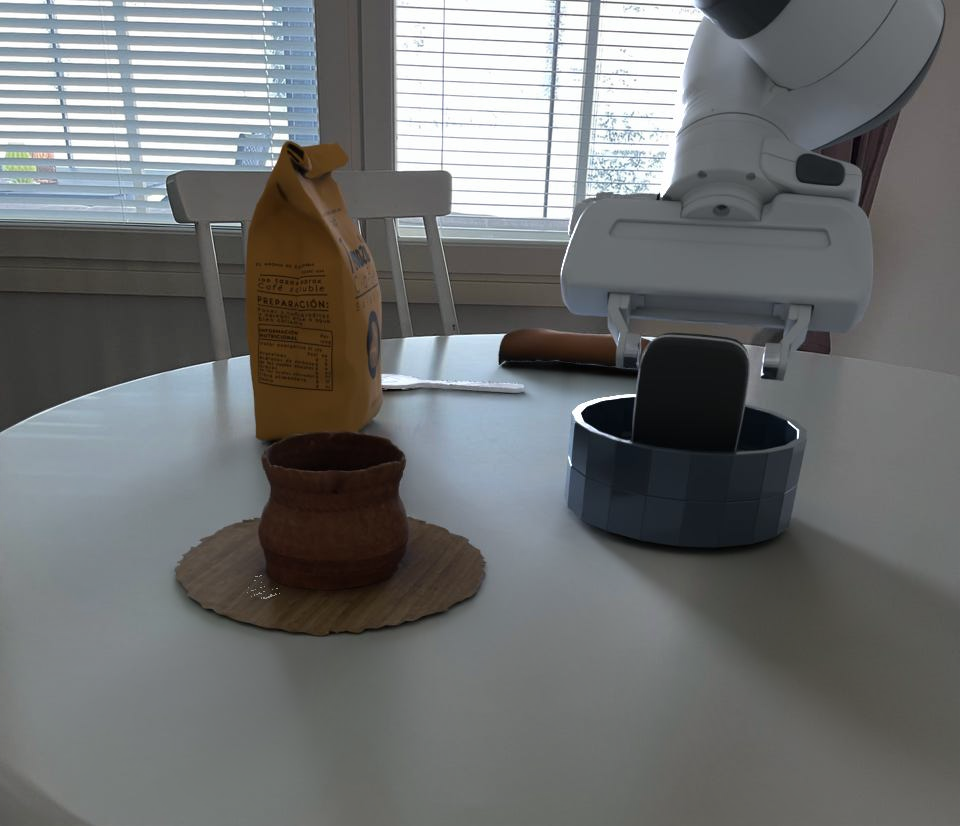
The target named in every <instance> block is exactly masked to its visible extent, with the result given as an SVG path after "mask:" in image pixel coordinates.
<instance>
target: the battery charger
mask: <svg viewBox="0 0 960 826" xmlns="http://www.w3.org/2000/svg"><path fill="white" fill-rule="evenodd" d="M750 370H751V361H750V357H749V353H748V350H747V348H746V347H745V345H744V343H743V342H741V341H739V340H738V339H736V338H732V337H728V336H722V335H721V336H719V335H711V334H702V333H687V332H665V333H662V334H660V335H658V336H656V337H654V338H652V339H651V340H650V343H649V344H648V345H647V346H646V348H645V349H644V351H643V353H642V356H641V360H640V365H639V369H638V371H637V379H636V386H635V394H634V395H635V402H634V412H633V427H632V442H637V443H641V444H646V445H651V446H656V447H664V448H672V449H680V450H689V451H709V452H736V448H737V443H738V439H739V434H740V429H741V425H742V420H743V414H744V409H745V404H747V395H748V389H749V382H750V375H751V374H750V373H751V371H750Z"/></svg>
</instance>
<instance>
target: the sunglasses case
mask: <svg viewBox="0 0 960 826" xmlns="http://www.w3.org/2000/svg"><path fill="white" fill-rule="evenodd" d="M650 341H651V340H650V339H647V338H644V337H641V353H640V358H639V365H640V360H641V356H642V353H643V351H644V349H645V348H646V346H647V345H648V344H649V343H650ZM616 350H617V345H616V343H615V341H614V339H613V337H612V335H611V333H609V334H603V333H600V334H598V333H579V332H568V331H560V330H559V331H557V330H554V329H549V328H542V327H541V328H540V327H536V328H535V327H532V328H531V327H529V328H520V329H515V330H511V331H508V332H507V333H505V334H504V335H503V336H502V338H501V340H500V344H499V349H498V354H497V357H498V358H497V361H498V366H501V365H502V364H503V363H506V362H517V363H518V362H531V363H534V362H538V361H539V362H543V363H545V362H556V361H557V362H560V363H569V364H576V365H596V366H600V367H605V368H606V367H608V368H616ZM639 365H638V369H637V370H639Z"/></svg>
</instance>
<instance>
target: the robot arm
mask: <svg viewBox="0 0 960 826" xmlns="http://www.w3.org/2000/svg"><path fill="white" fill-rule="evenodd" d="M688 1H689V3H690V4H691V5H692V6H693V7H694V8H696V9H697V11H699V12H700V13H701V14H702V15H703V17H702V18H701V20H700V23H699V25H698V27H697V29H696V31H695V33H694V34H693V38H692V40H691V43H690V45H689V48H688V50H687V53H686V57H685V60H684V63H683V67H682V71H681V73H680V78H679V83H678V87H677V93H676V98H675V104H674V111H673V127H674V131H675V134H674V135H673V137H672V139H671V141H670V143H669V146H668V149H667V153H666V157H665V164H664V169H663V175H662V181H661V186H660V192H658V193H655V192H654V193H653V192H652V193H651V192H630V193H619V192H618V193H615V191H607V190H606V191H598V192H596V193H595V196H592V197H588V198H585V199H583V200H582V201H579V202H577V203H576V204H575V205H574V207H573V209H572V212H571V213H570V219H569V224H568V236H569V242H568V245H567V248H566V251H565V255H564V258H563V261H562V265H561V269H560V270H561V271H560V291H561V298H562V301H563V304H564V305H565V306H566V308H567V310H568V311H569V312H570V313H571V314H573V315H579V316H591V317H592V316H593V317H607V329H608V330H609V334H611V335H612V337H613V339H614V341H615V343H616V345H617V350H616V367H615V368H618V369H629V370H630V369H632V370H639V369H638V365H639V358H640V353H641V338H642V333H639V332H630V330H629V323H630V319H633V320H634V319H635V320H637V319H638V320H649V321H650V320H651V321H665V322H668V321H669V322H679V323H694V324H707V325H708V324H710V325H724V326H735V327H736V326H737V327H738V326H739V327H753V328H766V329H768V328H769V329H781V330H783V337H782V339H781V340H780V341H779V342H766V343H765V347H764V352H763V356H762V361H761V371H760V380H767V381H768V380H769V381H779V382H783V381H784V379H785V376H786V372H787V369H788V368H787V367H788V361H789V359H790V358H791V357H792V356H793V355H794V353H795V352H796V351H797V350H798V349H799V348H800V347H801V346H802V345H803V343H804V342H805V341H806V336H807V334H808V331H811V332H826V333H836V334H837V333H838V334H839V333H840V334H846V333H849V332H851V331H852V330H853V329H855V327H857V326H858V324H860V323H861V322H862V321H863V319H864V316H865V314H866V312H867V309H868V306H869V303H870V300H871V296H872V292H873V284H874V246H873V236H872V228H871V224H870V221H869V217H868V216H867V214H866V212H865V211H864V209H862V207H860V206H859V202H860V196H861V190H862V181H863V172H862V170H861V169H860V168H859V167H858V166H857V165H855V164H853V163H850V162H848V161H844V160H840V159H837V158H833V157H830V156H827V155H823V154H820V153H817V151H820V150H823V149H828V148H829V147H832V146H835V145H837V144H841V143H843V142H846V141H848V140H851V139H854V138H857V137H859V136H862V135H864V134H866V133H868V132H870V131H872V130H875V129H876V128H878V127H879V126H880V125H882V124H884V123H886V122H887V121H888V120H890V119H891V118H893V117H895V116H896V115H897V114H898V113H900V111H901V110H902V109H904V107H905V106H906V105H907V104H908V103H910V101H911V100H912V98H913V97H914V95H915V94H916V92H917V91H918V90H919V88H920V87H921V85H922V83H923V82H924V80H925V78H926V76H927V74H928V73H929V72H930V69H931V67H932V66H933V64H934V62H935V59H936V56H937V54H938V51H939V49H940V47H941V43H942V39H943V35H944V31H945V24H946V14H947V13H946V6H945V4H944V2H943V0H688Z"/></svg>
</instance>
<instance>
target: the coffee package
mask: <svg viewBox="0 0 960 826" xmlns="http://www.w3.org/2000/svg"><path fill="white" fill-rule="evenodd" d="M281 146H282V147H281V149H280V152H279V156H278V158H277V160H276V162H275V165H274V167H273V168H272V170H271V173H270V174H269V176H268V179H267V181H266V183H265V187H264V189H263V192H262V194H261V195H260V197H259V199H258V201H257V202H256V204H255V208H254V211H253V214H252V217H251V220H250V224H249V226H248V230H247V240H246V241H247V242H246V253H245V255H246V256H245V330H246V337H247V346H248V356H249V367H250V376H251V384H252V394H253V408H254V412H253V413H254V421H255V422H254V423H255V438H256V439H257V440H259V441H263V442H279V441H281V440H282V439H283V438H284V437H286V436H288V435H291V434H305V433H307V432H310V431H329V432H331V431H351V432H357V433H359V431H361V430H362V429H364V428H365V427H367V426H369V424H370V423H371V422H372V421H373V419H374V418H376V417H377V415H378V414H379V412H380V410H381V408H382V406H383V401H384V395H383V389H382V378H381V374H382V323H383V322H382V320H383V319H382V318H383V317H382V313H383V311H382V310H383V308H382V291H381V287H380V283H379V277H378V273H377V269H376V265H375V261H374V257H373V255H372V254H371V251H370V249H369V247H368V246H367V244H366V241H365V239H364V238H363V236H362V234H361V232H360V231H359V229H358V227H357V225H356V224H355V222H354V221H353V220H352V218H351V217H350V215H349V214H348V209H347V206H346V202H345V199H344V196H343V193H342V190H341V187H340V185H339V183H338V181H337V180H336V179H335V178H334V176H333V171H335V170H337V169H341V168H343V167H345V166H346V165H347V164H348V163H349V160H350V157H349V155H348V154H347V152H346V151H345V150H344V148H343V147H342V145H341V144H340V143H339V142H338V141H335V142H331V143H320V144H312V145H306V146H305V145H304V146H302V145H300V144H298V143H296V142H294V141H292V140H286V141H285V142H284V143H283V144H282V145H281Z"/></svg>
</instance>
